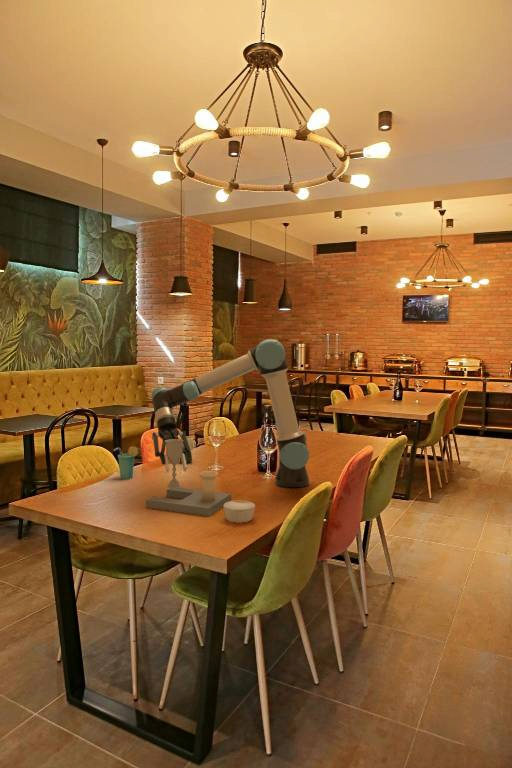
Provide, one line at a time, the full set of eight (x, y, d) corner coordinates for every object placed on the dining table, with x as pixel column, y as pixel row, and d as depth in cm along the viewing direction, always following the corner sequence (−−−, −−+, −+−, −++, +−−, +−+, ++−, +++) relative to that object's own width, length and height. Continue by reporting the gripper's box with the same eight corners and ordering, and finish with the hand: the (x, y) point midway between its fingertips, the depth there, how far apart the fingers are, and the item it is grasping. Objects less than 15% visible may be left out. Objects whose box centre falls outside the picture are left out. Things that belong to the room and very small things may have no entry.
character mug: (198, 462, 283) (198, 437, 282) (192, 465, 276) (192, 439, 275) (179, 460, 286) (179, 435, 285) (173, 463, 280) (173, 437, 278)
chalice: (167, 489, 208) (168, 442, 206) (162, 485, 214) (162, 439, 212) (186, 487, 211) (186, 441, 210) (180, 483, 217) (180, 438, 216)
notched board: (231, 501, 216) (231, 468, 214) (208, 516, 197) (208, 480, 196) (172, 493, 225) (172, 462, 224) (146, 507, 206) (146, 473, 205)
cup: (120, 483, 240) (119, 449, 239) (107, 480, 244) (107, 447, 243) (142, 476, 252) (142, 444, 251) (129, 474, 256) (129, 442, 255)
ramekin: (254, 514, 201) (254, 500, 200) (255, 524, 190) (255, 509, 189) (223, 514, 200) (223, 499, 200) (222, 524, 189) (223, 509, 189)
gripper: (186, 425, 229) (198, 473, 215) (140, 427, 221) (150, 477, 207) (190, 414, 223) (203, 462, 210) (143, 416, 216) (153, 466, 202)
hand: (176, 469), depth 209 cm, fingers closed on chalice, 6 cm apart
